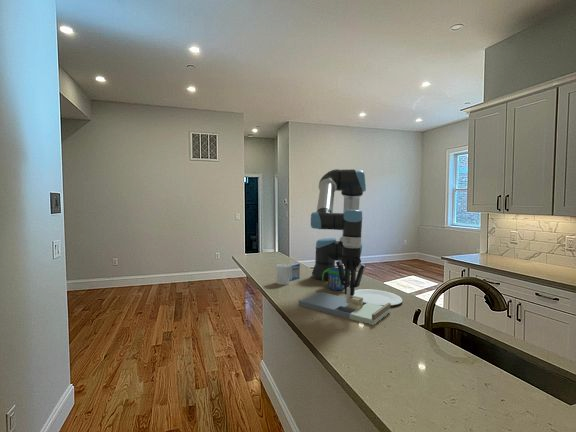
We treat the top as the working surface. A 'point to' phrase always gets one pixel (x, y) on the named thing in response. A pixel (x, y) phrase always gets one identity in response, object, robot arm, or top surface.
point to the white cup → (283, 274)
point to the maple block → (355, 302)
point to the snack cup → (334, 278)
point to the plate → (378, 297)
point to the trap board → (345, 308)
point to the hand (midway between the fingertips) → (349, 302)
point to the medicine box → (294, 271)
